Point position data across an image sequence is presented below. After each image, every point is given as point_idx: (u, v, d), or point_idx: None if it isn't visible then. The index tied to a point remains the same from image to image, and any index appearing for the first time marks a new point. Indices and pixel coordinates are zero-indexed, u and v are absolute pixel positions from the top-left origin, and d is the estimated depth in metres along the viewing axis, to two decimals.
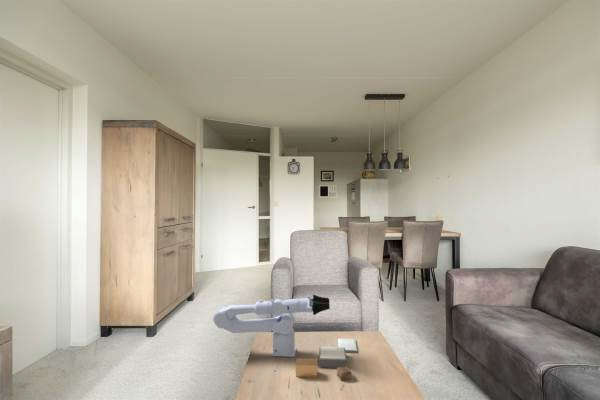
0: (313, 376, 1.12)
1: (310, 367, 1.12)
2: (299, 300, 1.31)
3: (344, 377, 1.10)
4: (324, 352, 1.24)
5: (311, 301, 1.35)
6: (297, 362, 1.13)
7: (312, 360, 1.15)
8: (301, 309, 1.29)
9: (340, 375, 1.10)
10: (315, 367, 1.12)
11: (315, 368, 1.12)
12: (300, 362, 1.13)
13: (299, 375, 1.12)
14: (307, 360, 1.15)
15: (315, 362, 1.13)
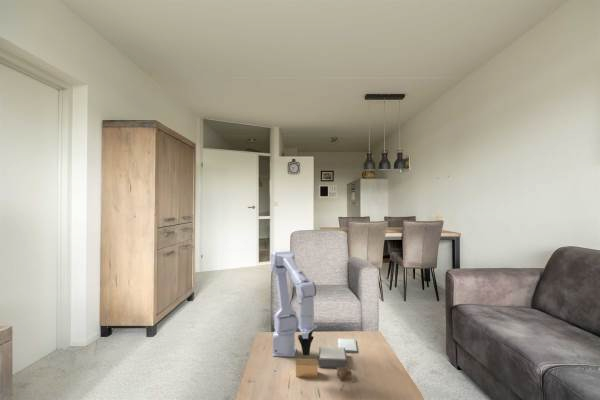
0: (313, 376, 1.12)
1: (310, 367, 1.12)
2: (312, 317, 1.13)
3: (344, 377, 1.10)
4: (324, 352, 1.24)
5: None
6: (297, 362, 1.13)
7: (312, 360, 1.15)
8: (303, 320, 1.12)
9: (340, 375, 1.10)
10: (315, 367, 1.12)
11: (315, 368, 1.12)
12: (300, 362, 1.13)
13: (299, 375, 1.12)
14: (307, 360, 1.15)
15: (315, 362, 1.13)
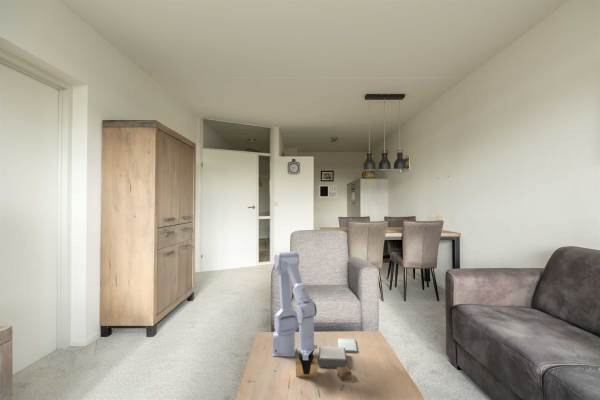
0: (313, 376, 1.12)
1: (310, 367, 1.12)
2: (312, 337, 1.13)
3: (344, 377, 1.10)
4: (324, 352, 1.24)
5: None
6: (297, 362, 1.13)
7: (312, 360, 1.15)
8: (303, 340, 1.12)
9: (340, 375, 1.10)
10: (315, 367, 1.12)
11: (315, 368, 1.12)
12: (300, 362, 1.13)
13: (299, 375, 1.12)
14: None
15: (315, 362, 1.13)
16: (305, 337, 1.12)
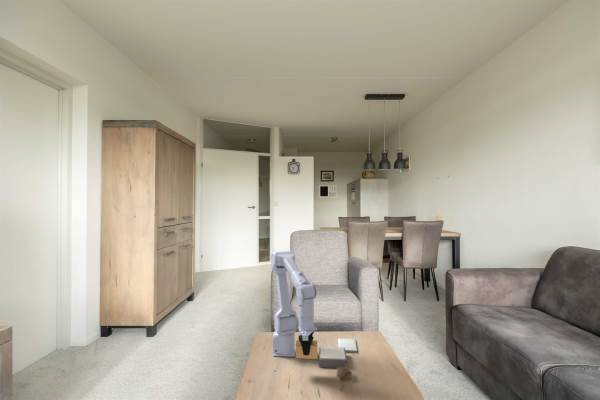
0: (313, 357, 1.12)
1: (310, 348, 1.12)
2: (312, 319, 1.13)
3: (344, 377, 1.10)
4: (324, 352, 1.24)
5: None
6: (297, 343, 1.14)
7: (312, 341, 1.15)
8: (303, 321, 1.12)
9: (340, 375, 1.10)
10: (315, 348, 1.12)
11: (315, 349, 1.12)
12: (300, 343, 1.14)
13: (299, 356, 1.13)
14: None
15: (315, 343, 1.14)
16: (305, 318, 1.12)
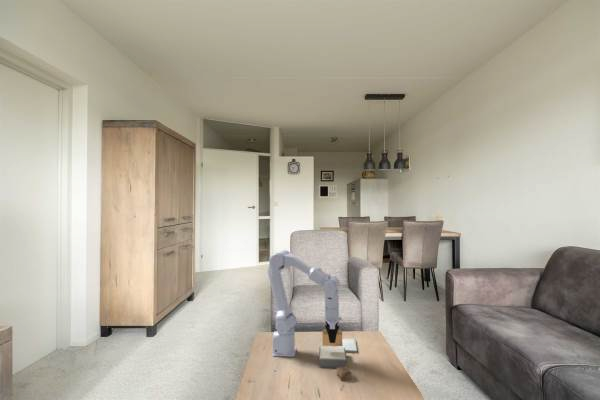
0: (338, 344, 1.22)
1: (336, 336, 1.22)
2: (338, 309, 1.24)
3: (344, 377, 1.10)
4: (324, 352, 1.24)
5: None
6: (323, 332, 1.24)
7: None
8: (329, 312, 1.22)
9: (340, 375, 1.10)
10: (340, 336, 1.22)
11: (341, 337, 1.22)
12: (326, 332, 1.24)
13: (326, 344, 1.23)
14: None
15: (340, 332, 1.24)
16: (331, 309, 1.22)
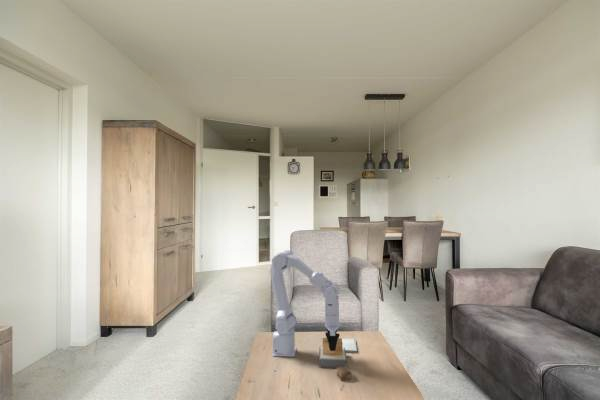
0: (339, 353, 1.22)
1: (336, 345, 1.22)
2: (338, 316, 1.23)
3: (344, 377, 1.10)
4: None
5: None
6: (324, 341, 1.24)
7: None
8: (329, 318, 1.22)
9: (340, 375, 1.10)
10: (340, 345, 1.22)
11: (341, 346, 1.22)
12: (326, 341, 1.24)
13: (326, 352, 1.23)
14: None
15: (340, 341, 1.24)
16: (331, 315, 1.22)
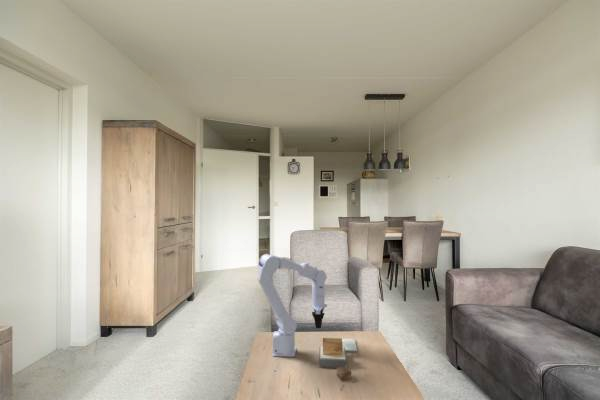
0: (339, 353, 1.22)
1: (336, 345, 1.22)
2: (323, 297, 1.38)
3: (344, 377, 1.10)
4: None
5: None
6: (324, 341, 1.24)
7: (337, 339, 1.25)
8: (316, 299, 1.37)
9: (340, 375, 1.10)
10: (340, 345, 1.22)
11: (341, 346, 1.22)
12: (326, 341, 1.24)
13: (326, 352, 1.23)
14: (332, 339, 1.25)
15: (340, 341, 1.24)
16: (317, 297, 1.37)
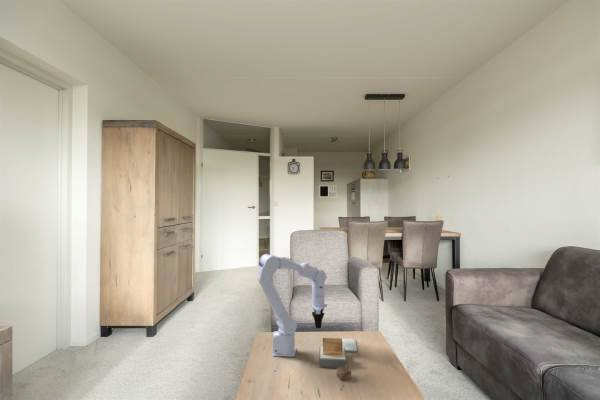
0: (339, 353, 1.22)
1: (336, 345, 1.22)
2: (323, 297, 1.38)
3: (344, 377, 1.10)
4: None
5: None
6: (324, 341, 1.24)
7: (337, 339, 1.25)
8: (315, 299, 1.37)
9: (340, 375, 1.10)
10: (340, 345, 1.22)
11: (341, 346, 1.22)
12: (326, 341, 1.24)
13: (326, 352, 1.23)
14: (332, 339, 1.25)
15: (340, 341, 1.24)
16: (317, 297, 1.37)
